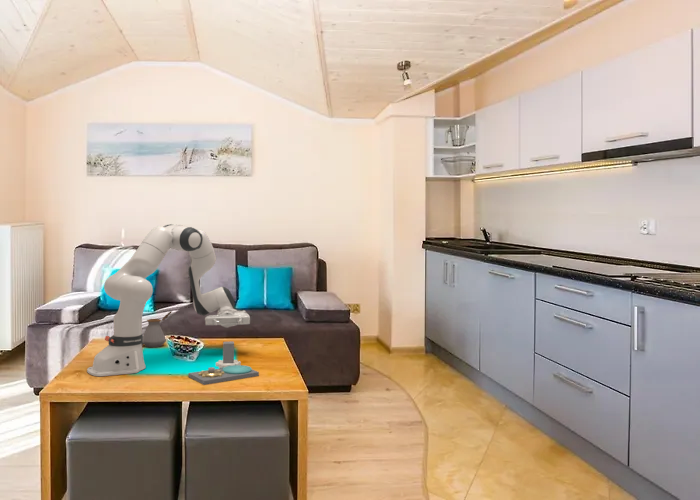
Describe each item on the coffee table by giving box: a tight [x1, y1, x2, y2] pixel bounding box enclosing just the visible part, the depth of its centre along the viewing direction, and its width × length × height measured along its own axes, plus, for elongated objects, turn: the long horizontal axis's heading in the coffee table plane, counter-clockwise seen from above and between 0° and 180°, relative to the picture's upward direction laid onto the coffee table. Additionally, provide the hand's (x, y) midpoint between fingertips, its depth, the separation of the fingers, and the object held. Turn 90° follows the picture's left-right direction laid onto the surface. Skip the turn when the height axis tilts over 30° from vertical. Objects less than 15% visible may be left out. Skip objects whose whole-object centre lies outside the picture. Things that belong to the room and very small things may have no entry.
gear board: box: [187, 364, 260, 386], centre depth 245 cm, size 24×14×4 cm, turn 129°
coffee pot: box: [143, 311, 174, 348], centre depth 303 cm, size 21×12×15 cm, turn 164°
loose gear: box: [215, 340, 242, 369], centre depth 263 cm, size 10×10×10 cm
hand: (228, 322), depth 274 cm, fingers open, 8 cm apart
